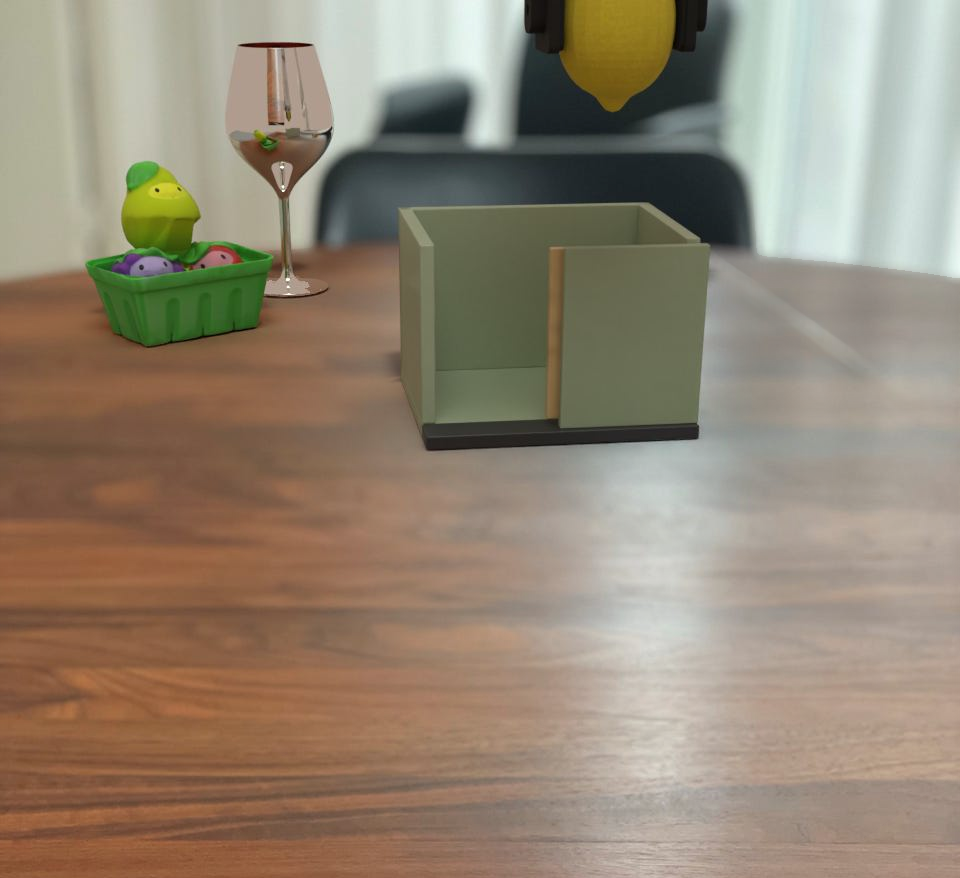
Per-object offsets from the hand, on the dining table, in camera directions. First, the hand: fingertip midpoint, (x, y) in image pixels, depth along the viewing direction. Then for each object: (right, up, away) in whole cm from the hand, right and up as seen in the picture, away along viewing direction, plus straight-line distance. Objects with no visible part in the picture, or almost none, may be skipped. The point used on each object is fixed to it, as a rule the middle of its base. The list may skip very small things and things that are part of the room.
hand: (614, 46), depth 70 cm
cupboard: (-3, -14, +20) cm, 25 cm away
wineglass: (-21, 0, +49) cm, 54 cm away
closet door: (+1, -15, +16) cm, 22 cm away
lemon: (0, -3, +1) cm, 3 cm away
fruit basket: (-28, -6, +37) cm, 47 cm away
